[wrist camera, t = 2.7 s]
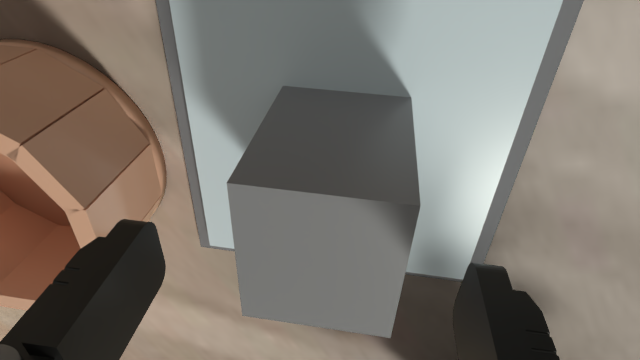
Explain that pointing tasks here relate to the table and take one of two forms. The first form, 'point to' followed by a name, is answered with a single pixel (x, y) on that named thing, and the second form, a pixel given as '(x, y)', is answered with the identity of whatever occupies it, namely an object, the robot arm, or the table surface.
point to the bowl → (65, 164)
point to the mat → (513, 162)
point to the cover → (352, 141)
